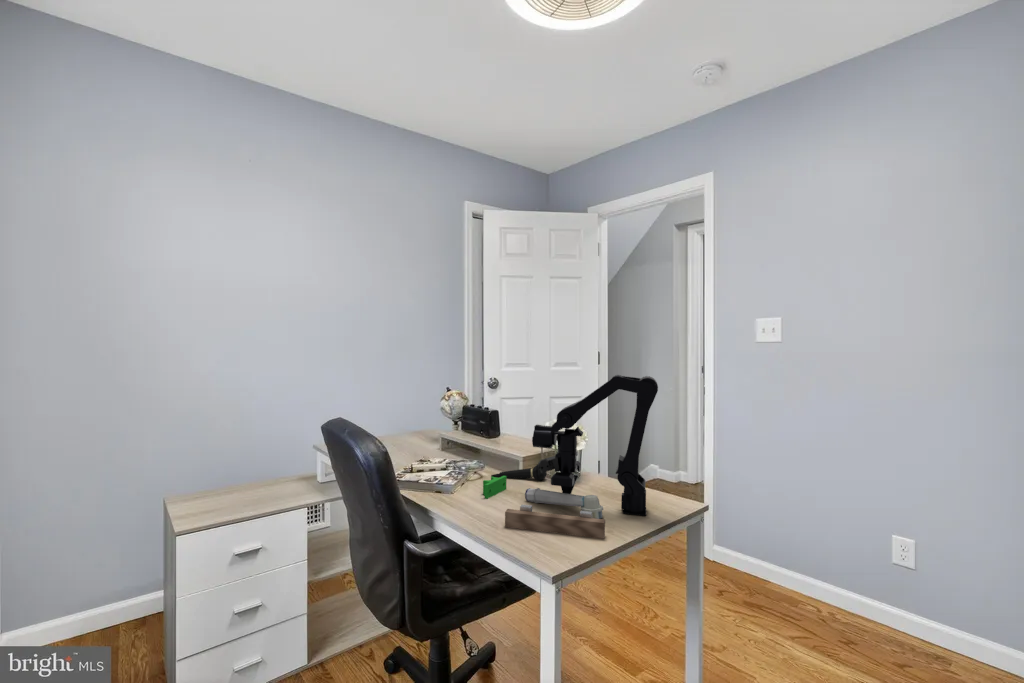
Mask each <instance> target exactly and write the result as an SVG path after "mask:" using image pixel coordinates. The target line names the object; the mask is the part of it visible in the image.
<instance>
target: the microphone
mask: <svg viewBox="0 0 1024 683" xmlns="http://www.w3.org/2000/svg"><path fill="white" fill-rule="evenodd" d="M538 467H539V465H538V464H536V465H534V467H533V468H531V467H530V468H529V467H528V468H521V469H513V470H507V471H504V470H503V471H501V472H499V473H495V474H491V476H490V478H491V477H497V478H500V477H502V476H507V479H533V478H534V480H536V481H538V482H539V481H540V482H541V481H543V480H544V479H546V478H547V472H548V471H546V472H545V473H541V470H540V469H539V468H538Z"/></svg>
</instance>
